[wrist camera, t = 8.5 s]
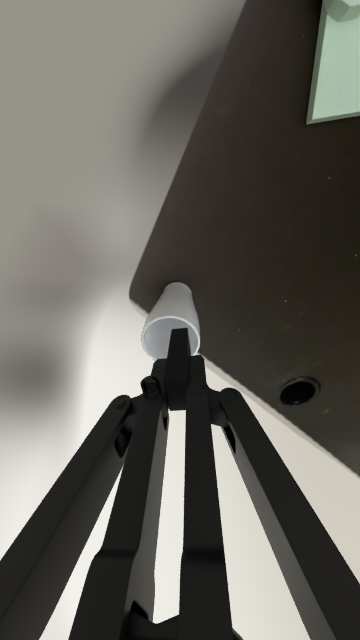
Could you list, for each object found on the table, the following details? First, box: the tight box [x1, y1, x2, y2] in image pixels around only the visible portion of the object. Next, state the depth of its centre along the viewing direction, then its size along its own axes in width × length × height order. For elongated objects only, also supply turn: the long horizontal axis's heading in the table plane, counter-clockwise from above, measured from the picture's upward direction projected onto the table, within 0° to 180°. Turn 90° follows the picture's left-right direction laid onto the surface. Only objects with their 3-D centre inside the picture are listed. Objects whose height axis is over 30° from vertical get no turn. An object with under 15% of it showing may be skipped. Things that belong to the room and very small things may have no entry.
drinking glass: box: [141, 282, 200, 361], centre depth 28 cm, size 7×7×15 cm
